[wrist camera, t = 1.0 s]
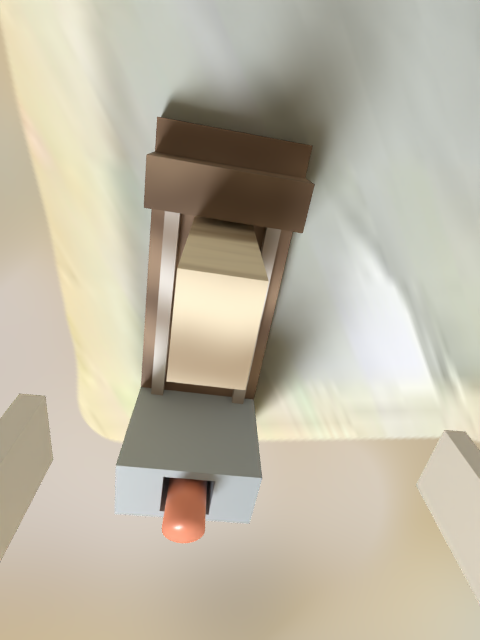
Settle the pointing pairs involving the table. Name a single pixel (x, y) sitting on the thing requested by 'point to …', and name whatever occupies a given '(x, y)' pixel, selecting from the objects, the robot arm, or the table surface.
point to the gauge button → (185, 510)
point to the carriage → (217, 305)
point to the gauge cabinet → (189, 454)
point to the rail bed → (223, 204)
